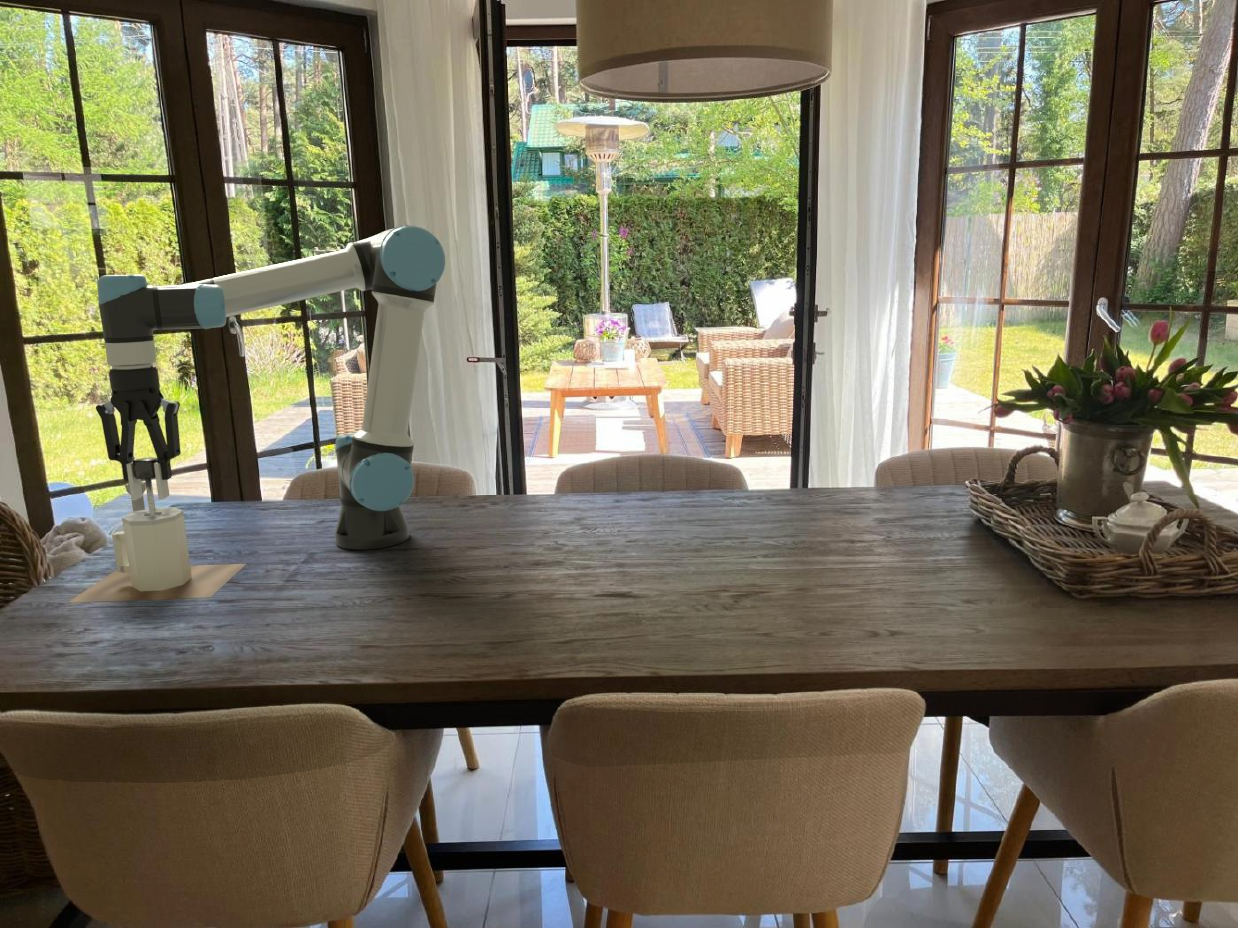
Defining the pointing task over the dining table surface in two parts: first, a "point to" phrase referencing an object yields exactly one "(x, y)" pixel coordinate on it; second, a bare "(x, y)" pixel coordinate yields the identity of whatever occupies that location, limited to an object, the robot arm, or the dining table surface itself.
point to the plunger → (146, 478)
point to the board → (199, 586)
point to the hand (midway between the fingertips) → (150, 497)
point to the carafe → (153, 549)
